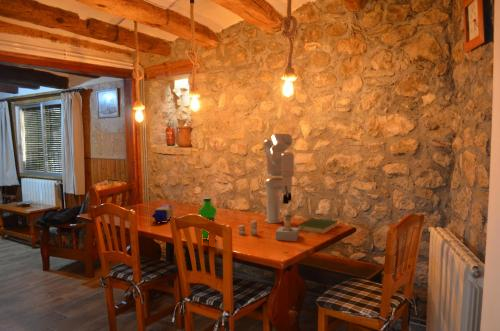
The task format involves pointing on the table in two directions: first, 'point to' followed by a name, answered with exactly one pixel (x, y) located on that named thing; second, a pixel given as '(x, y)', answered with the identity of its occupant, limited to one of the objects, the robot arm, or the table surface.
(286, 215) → the long dowel
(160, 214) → the toy truck
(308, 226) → the hardcover book
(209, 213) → the plastic bottle
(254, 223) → the medium dowel
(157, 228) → the table surface
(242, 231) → the short dowel
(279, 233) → the socket block
